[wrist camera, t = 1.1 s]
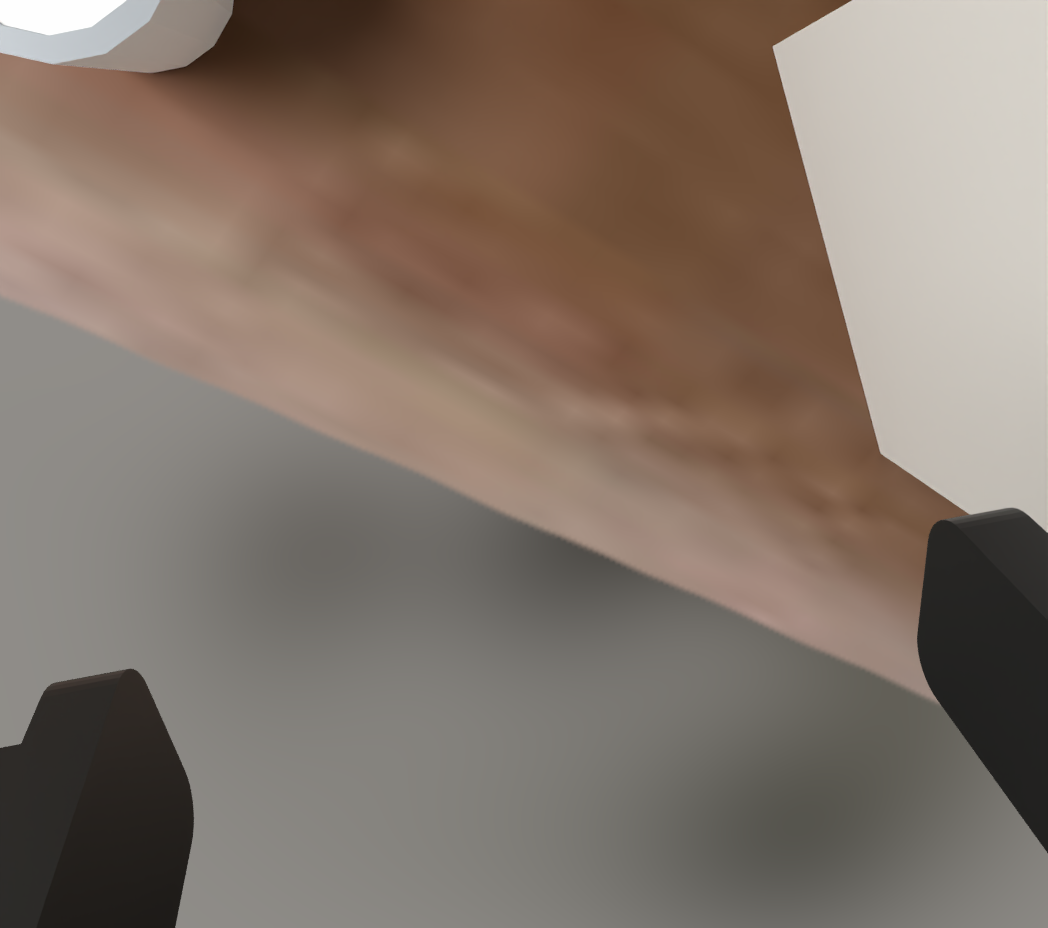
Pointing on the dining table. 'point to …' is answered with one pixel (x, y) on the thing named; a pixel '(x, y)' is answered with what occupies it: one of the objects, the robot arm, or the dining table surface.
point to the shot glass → (113, 32)
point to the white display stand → (937, 229)
